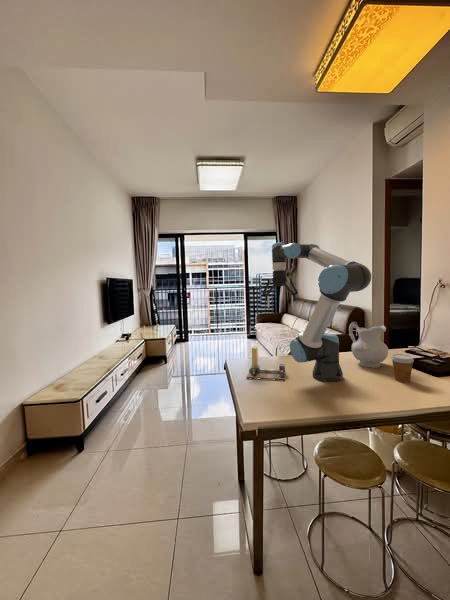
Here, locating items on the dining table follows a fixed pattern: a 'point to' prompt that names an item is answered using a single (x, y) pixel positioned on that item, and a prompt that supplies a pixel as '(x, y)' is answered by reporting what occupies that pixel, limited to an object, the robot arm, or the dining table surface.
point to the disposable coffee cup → (402, 367)
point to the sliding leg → (254, 361)
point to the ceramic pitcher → (368, 345)
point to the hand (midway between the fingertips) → (280, 306)
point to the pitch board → (269, 373)
